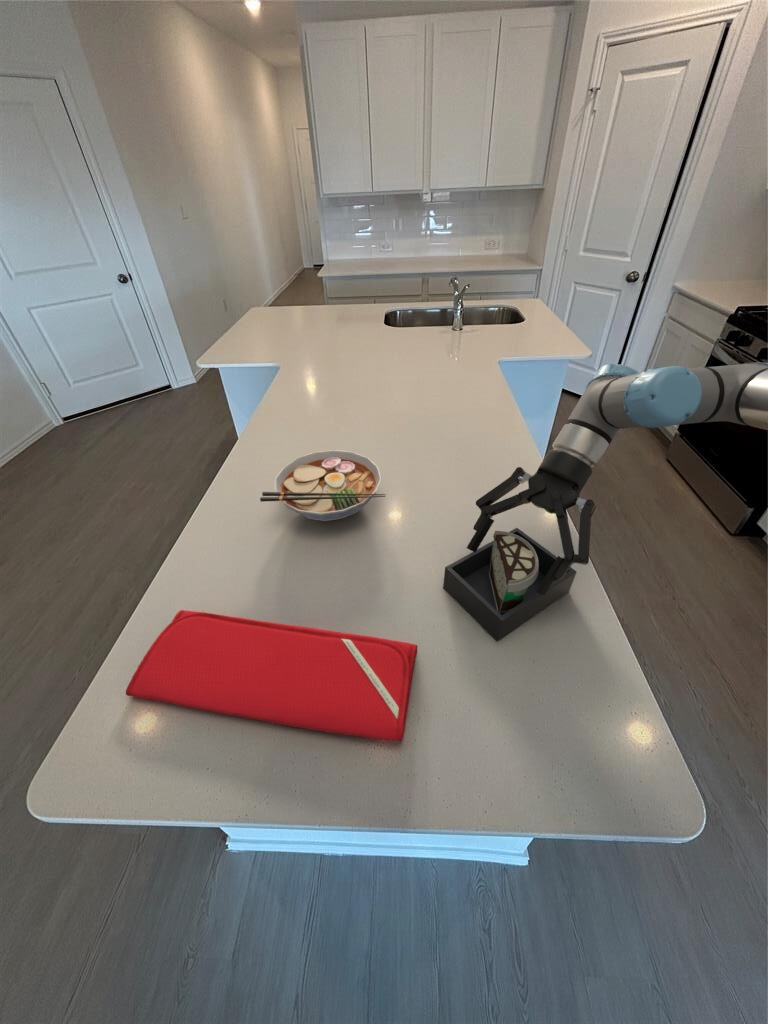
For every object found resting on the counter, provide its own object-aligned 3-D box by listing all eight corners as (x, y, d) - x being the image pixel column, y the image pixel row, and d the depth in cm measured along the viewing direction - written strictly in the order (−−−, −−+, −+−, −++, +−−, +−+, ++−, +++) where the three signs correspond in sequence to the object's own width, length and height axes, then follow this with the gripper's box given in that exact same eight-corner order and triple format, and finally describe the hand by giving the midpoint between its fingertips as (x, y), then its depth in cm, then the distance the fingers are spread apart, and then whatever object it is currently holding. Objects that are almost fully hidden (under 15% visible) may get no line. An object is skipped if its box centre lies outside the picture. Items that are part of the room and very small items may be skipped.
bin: (568, 592, 78) (577, 571, 74) (496, 641, 71) (502, 621, 67) (512, 548, 87) (516, 527, 83) (442, 588, 79) (444, 566, 76)
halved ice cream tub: (537, 623, 73) (550, 583, 66) (500, 623, 73) (509, 583, 66) (520, 567, 82) (530, 528, 75) (487, 567, 82) (494, 528, 76)
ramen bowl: (388, 475, 107) (387, 446, 101) (385, 540, 89) (384, 510, 84) (286, 475, 108) (280, 446, 102) (264, 540, 90) (255, 510, 85)
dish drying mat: (184, 613, 77) (177, 599, 74) (417, 648, 70) (418, 635, 68) (128, 699, 65) (117, 687, 62) (402, 752, 58) (402, 740, 56)
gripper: (652, 498, 67) (578, 615, 69) (512, 439, 81) (454, 537, 83) (650, 485, 61) (569, 614, 63) (499, 423, 75) (437, 530, 77)
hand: (503, 570), depth 73 cm, fingers open, 13 cm apart
